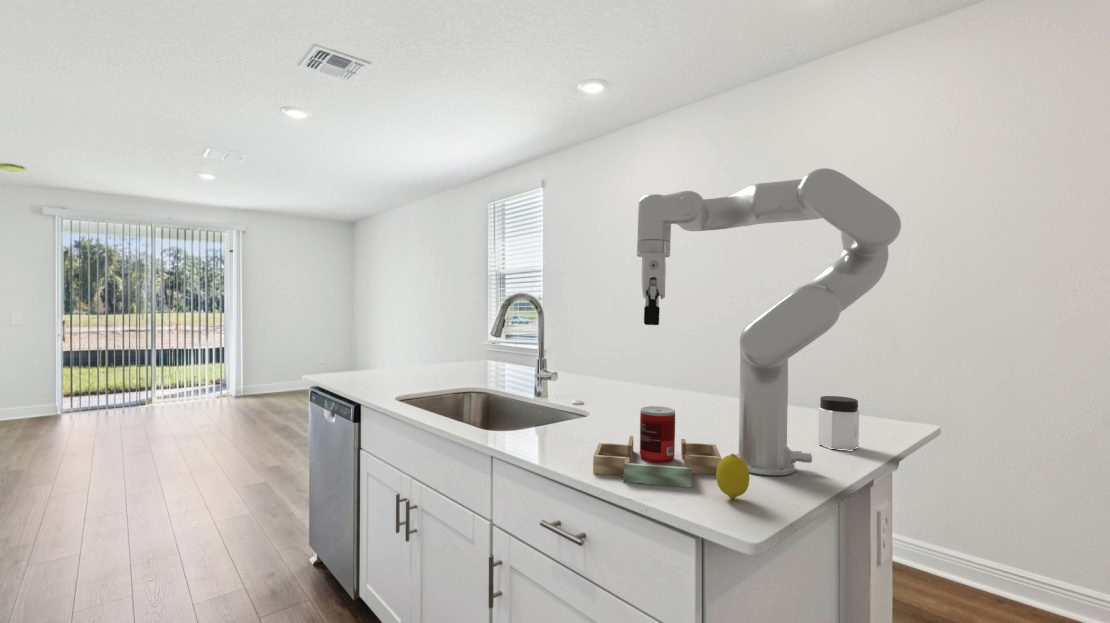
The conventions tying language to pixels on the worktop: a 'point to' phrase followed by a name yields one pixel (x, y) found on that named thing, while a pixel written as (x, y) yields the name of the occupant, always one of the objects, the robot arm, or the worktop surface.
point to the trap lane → (619, 456)
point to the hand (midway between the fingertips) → (651, 324)
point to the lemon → (732, 476)
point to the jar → (838, 422)
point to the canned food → (657, 434)
